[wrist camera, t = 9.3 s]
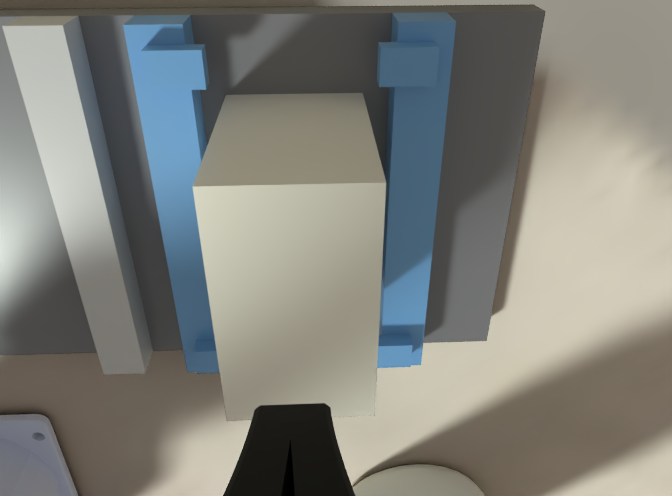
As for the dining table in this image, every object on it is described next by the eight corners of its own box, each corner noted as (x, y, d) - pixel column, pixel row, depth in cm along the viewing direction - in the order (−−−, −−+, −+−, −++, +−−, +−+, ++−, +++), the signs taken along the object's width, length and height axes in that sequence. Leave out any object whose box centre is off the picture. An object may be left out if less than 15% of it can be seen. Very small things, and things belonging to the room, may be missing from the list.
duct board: (480, 324, 24) (499, 374, 21) (-136, 342, 23) (-188, 396, 20) (533, 4, 17) (569, 25, 15) (-323, 12, 16) (-429, 35, 14)
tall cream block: (358, 285, 21) (374, 415, 16) (245, 288, 21) (226, 420, 16) (362, 92, 17) (386, 182, 12) (225, 94, 17) (192, 186, 12)
